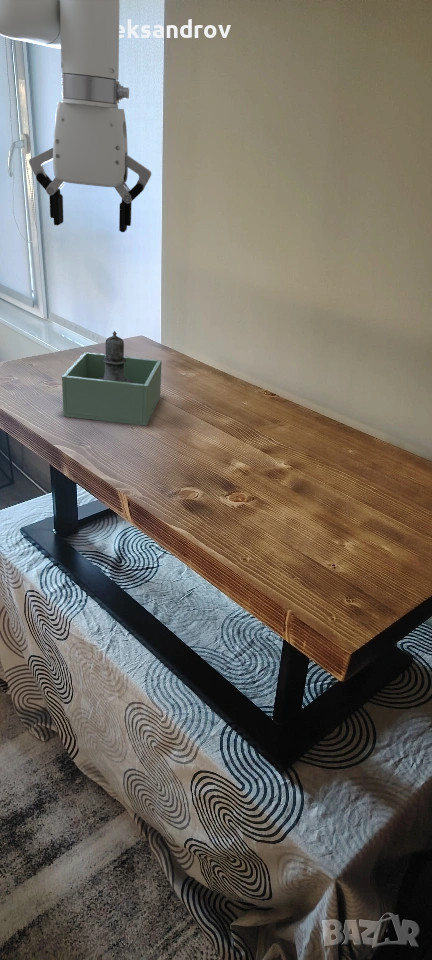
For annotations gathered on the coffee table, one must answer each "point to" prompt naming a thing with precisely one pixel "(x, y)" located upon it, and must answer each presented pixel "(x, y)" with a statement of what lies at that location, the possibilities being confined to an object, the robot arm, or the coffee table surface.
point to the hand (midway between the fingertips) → (91, 227)
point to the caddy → (111, 390)
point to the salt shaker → (114, 360)
